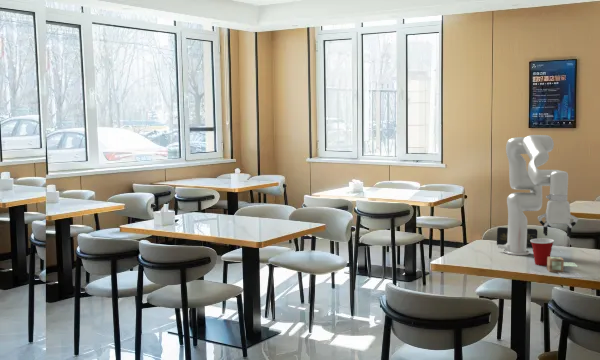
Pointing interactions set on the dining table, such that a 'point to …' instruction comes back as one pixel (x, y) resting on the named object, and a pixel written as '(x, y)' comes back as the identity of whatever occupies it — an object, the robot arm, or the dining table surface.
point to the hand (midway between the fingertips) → (556, 235)
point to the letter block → (555, 264)
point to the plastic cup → (541, 250)
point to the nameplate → (503, 236)
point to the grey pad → (570, 275)
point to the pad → (570, 264)
